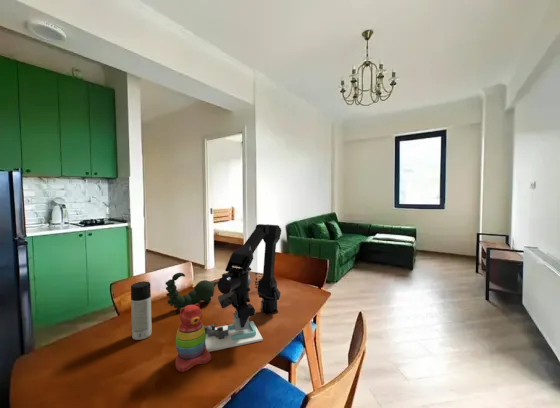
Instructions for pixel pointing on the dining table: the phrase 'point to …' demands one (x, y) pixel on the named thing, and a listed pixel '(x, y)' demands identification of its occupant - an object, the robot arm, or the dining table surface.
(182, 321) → the stacking bear
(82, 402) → the dining table surface
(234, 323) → the block
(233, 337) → the end holder
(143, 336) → the spray can
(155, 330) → the dining table surface
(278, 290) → the robot arm
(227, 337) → the board
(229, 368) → the dining table surface
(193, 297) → the toy figurine
